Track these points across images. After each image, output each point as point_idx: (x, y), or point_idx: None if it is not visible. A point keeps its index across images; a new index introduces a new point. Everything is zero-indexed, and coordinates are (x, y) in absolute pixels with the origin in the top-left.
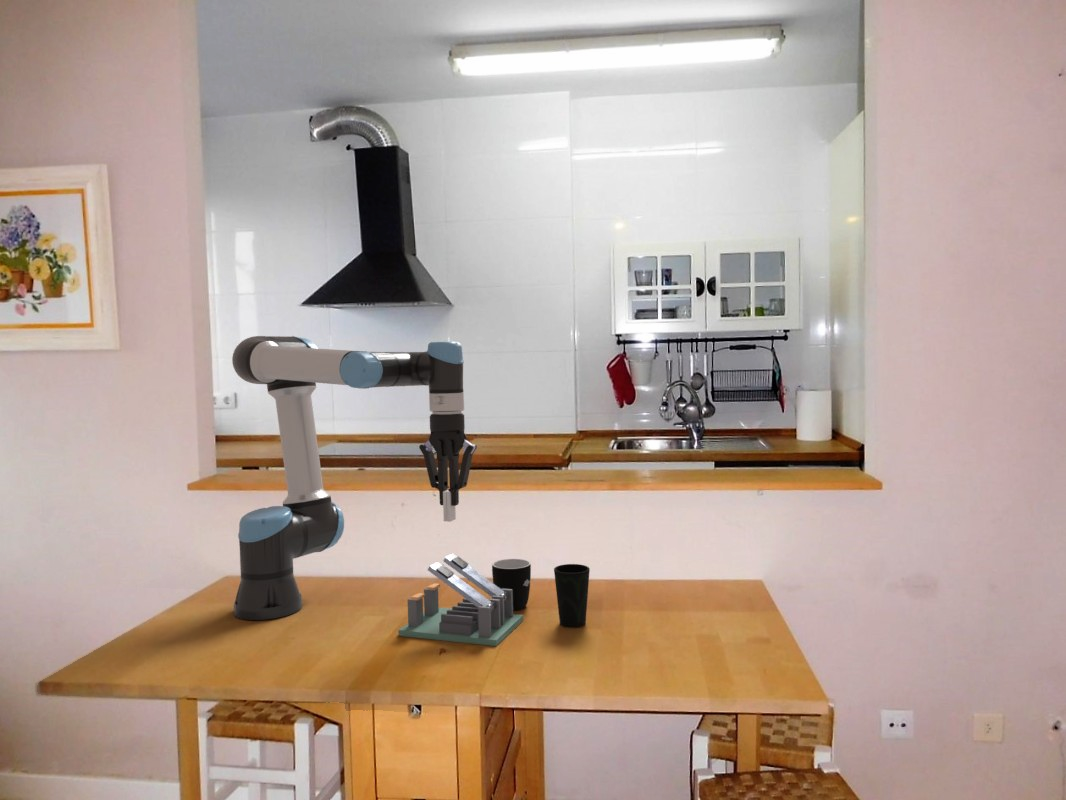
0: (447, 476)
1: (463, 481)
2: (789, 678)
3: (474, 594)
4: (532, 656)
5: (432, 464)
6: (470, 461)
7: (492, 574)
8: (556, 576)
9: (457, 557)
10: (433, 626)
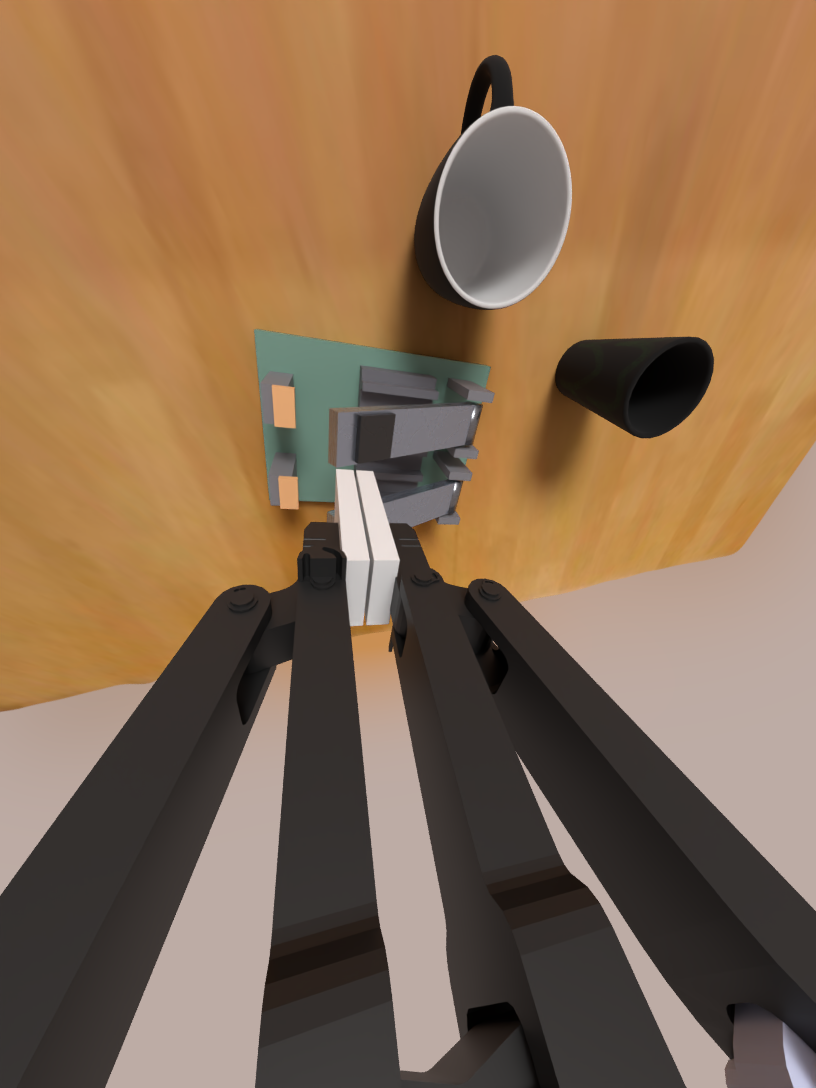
0: (351, 657)
1: (506, 670)
2: (749, 517)
3: (428, 506)
4: (503, 523)
5: (168, 890)
6: (686, 806)
7: (427, 254)
8: (616, 417)
9: (363, 427)
10: (327, 469)
